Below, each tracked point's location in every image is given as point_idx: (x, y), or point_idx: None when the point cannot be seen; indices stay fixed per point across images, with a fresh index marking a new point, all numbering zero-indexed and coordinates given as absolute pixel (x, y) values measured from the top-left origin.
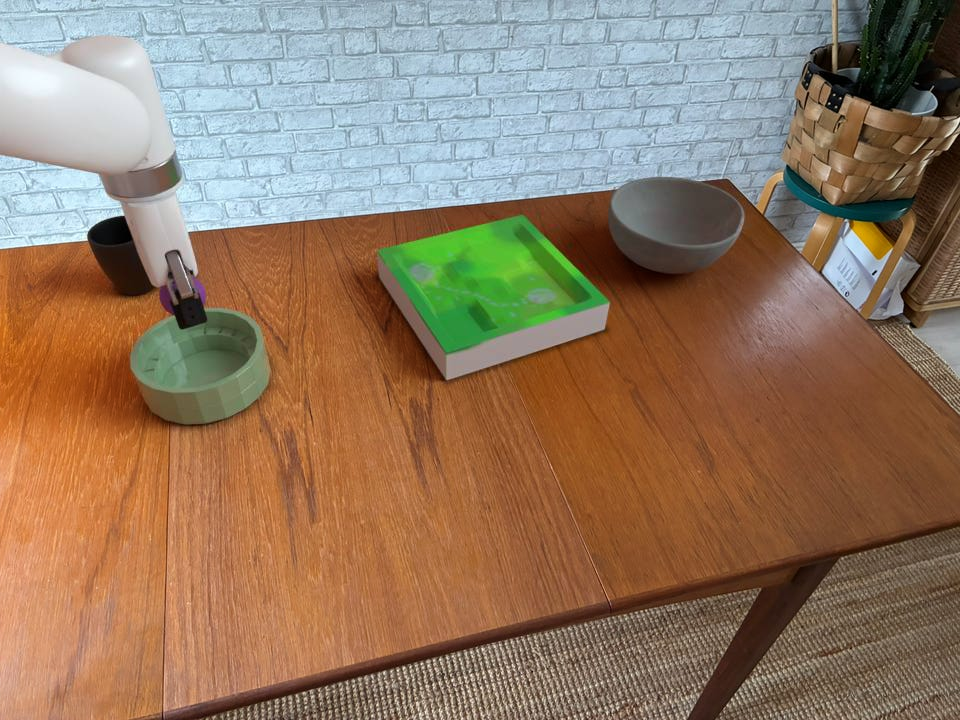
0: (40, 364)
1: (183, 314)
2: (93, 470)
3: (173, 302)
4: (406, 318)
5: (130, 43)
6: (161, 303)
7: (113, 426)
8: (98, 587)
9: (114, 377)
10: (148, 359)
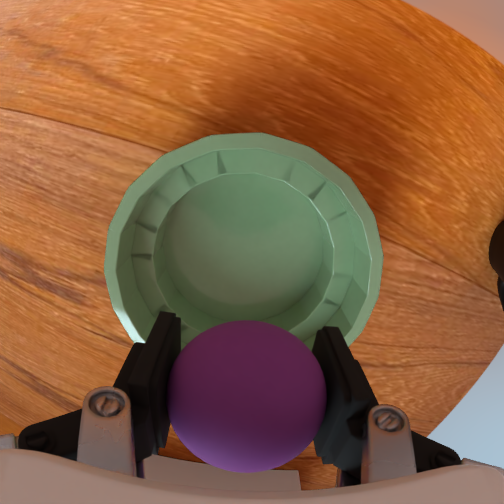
0: (442, 56)
1: (123, 367)
2: (157, 33)
3: (84, 399)
4: (211, 465)
5: None
6: (243, 334)
7: (234, 76)
8: (8, 40)
9: (356, 120)
10: (323, 181)
